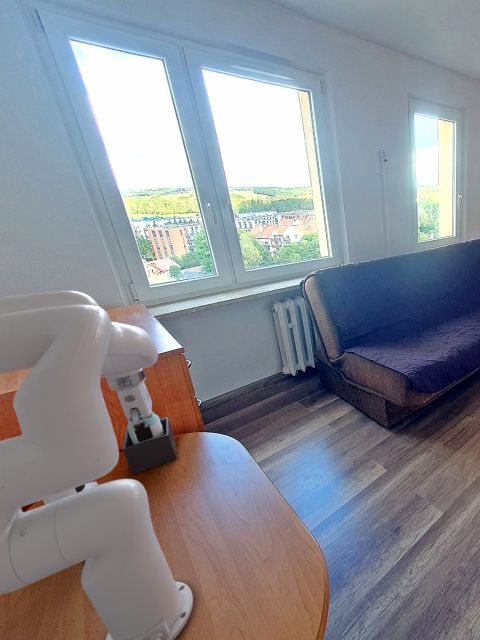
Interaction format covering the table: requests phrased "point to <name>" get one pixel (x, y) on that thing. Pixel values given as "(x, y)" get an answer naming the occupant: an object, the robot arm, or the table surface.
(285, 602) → the table surface
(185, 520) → the table surface
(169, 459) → the bin
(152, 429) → the can
